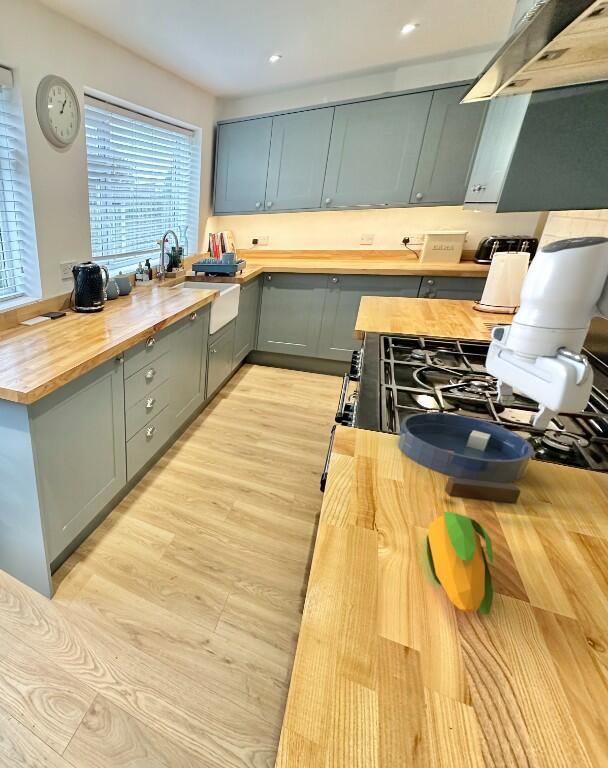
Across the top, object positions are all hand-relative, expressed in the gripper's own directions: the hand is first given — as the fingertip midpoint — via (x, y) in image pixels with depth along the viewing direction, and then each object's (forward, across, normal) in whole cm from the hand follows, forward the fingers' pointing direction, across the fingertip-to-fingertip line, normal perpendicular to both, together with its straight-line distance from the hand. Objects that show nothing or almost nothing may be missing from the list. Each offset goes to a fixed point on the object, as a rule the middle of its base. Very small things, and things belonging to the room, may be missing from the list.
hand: (519, 414), depth 75 cm
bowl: (+16, +12, +2) cm, 20 cm away
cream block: (+15, +16, -4) cm, 22 cm away
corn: (+16, -26, +17) cm, 35 cm away
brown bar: (+16, -4, +5) cm, 17 cm away
